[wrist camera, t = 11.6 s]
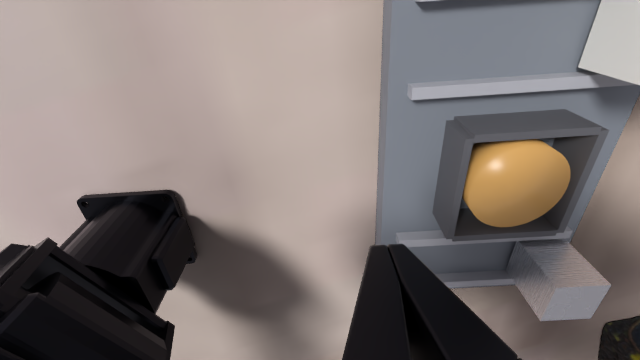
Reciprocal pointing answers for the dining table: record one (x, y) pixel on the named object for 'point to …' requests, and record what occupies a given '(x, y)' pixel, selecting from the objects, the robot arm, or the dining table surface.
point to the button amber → (514, 181)
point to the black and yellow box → (621, 340)
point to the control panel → (486, 122)
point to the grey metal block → (556, 279)
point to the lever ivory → (615, 41)
